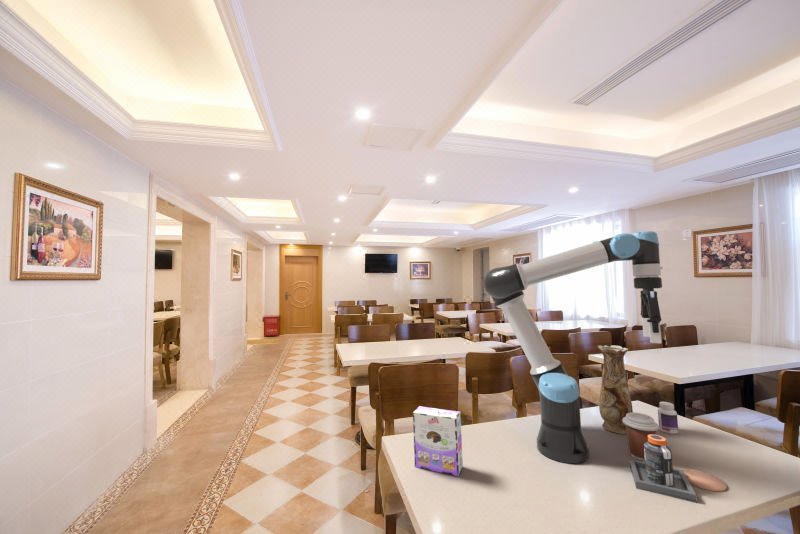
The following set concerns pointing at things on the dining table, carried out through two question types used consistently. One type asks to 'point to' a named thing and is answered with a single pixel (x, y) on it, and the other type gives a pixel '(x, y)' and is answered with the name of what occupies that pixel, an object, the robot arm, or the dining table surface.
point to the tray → (678, 490)
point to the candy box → (438, 440)
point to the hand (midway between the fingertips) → (652, 339)
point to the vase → (614, 389)
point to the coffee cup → (639, 432)
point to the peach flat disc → (704, 480)
